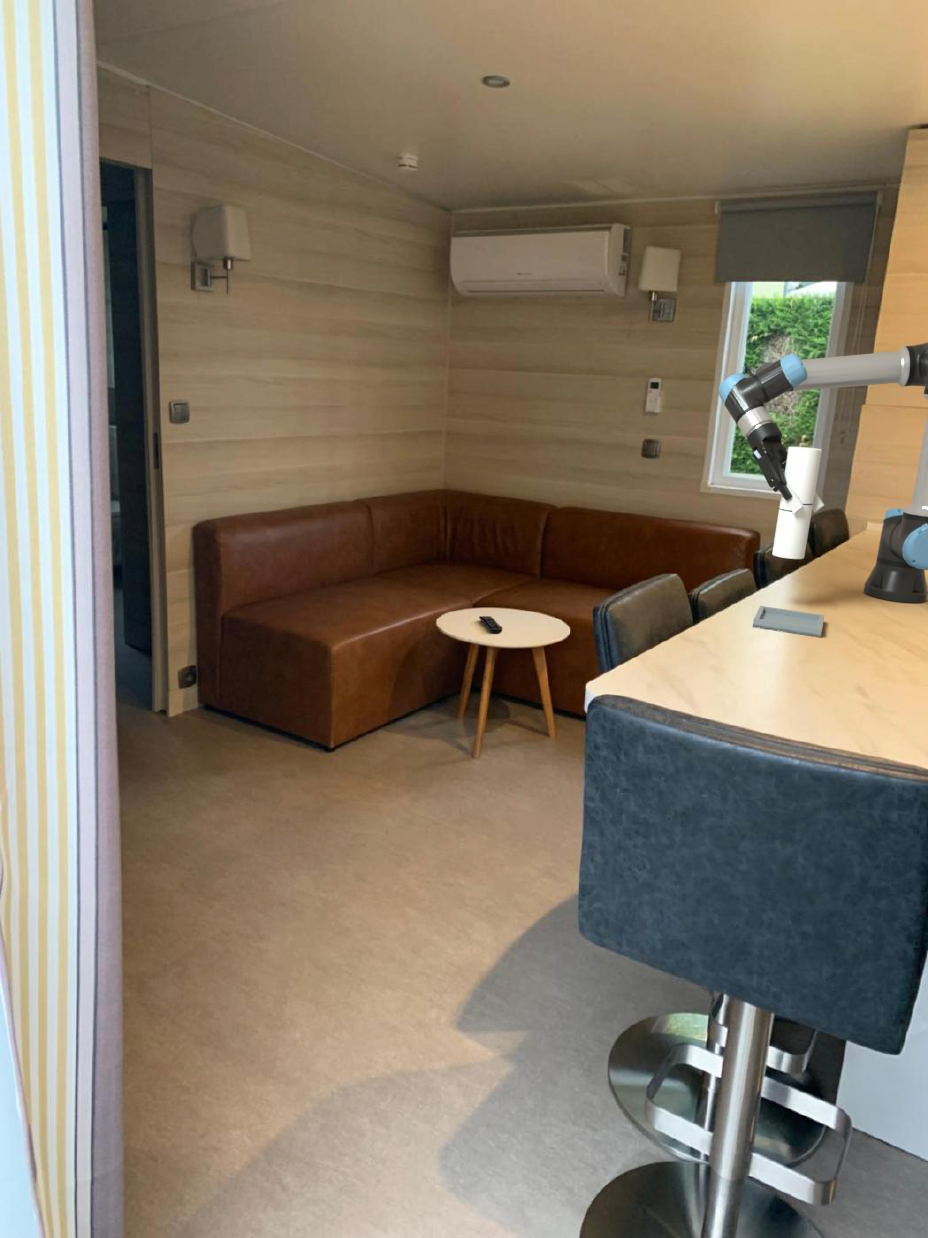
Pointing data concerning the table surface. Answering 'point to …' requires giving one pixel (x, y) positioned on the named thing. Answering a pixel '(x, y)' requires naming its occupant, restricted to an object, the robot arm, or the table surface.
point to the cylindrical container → (803, 481)
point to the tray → (789, 621)
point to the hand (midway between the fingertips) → (809, 509)
